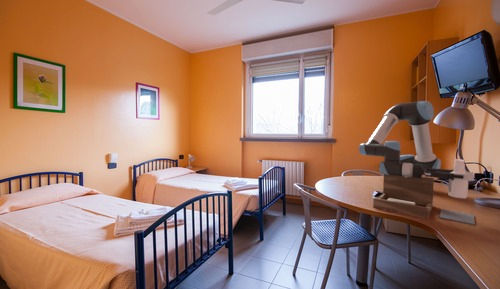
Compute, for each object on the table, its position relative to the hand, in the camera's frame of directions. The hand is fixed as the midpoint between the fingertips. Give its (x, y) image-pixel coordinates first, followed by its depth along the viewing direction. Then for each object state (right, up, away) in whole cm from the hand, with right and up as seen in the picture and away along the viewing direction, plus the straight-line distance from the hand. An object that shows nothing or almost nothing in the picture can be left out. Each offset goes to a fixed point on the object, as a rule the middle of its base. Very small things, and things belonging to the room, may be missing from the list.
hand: (473, 176), depth 103 cm
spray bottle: (-3, -11, +4) cm, 12 cm away
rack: (-19, -20, +20) cm, 34 cm away
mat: (-3, -21, +5) cm, 21 cm away
